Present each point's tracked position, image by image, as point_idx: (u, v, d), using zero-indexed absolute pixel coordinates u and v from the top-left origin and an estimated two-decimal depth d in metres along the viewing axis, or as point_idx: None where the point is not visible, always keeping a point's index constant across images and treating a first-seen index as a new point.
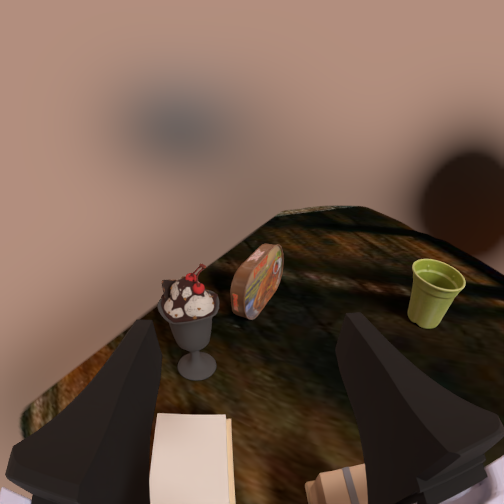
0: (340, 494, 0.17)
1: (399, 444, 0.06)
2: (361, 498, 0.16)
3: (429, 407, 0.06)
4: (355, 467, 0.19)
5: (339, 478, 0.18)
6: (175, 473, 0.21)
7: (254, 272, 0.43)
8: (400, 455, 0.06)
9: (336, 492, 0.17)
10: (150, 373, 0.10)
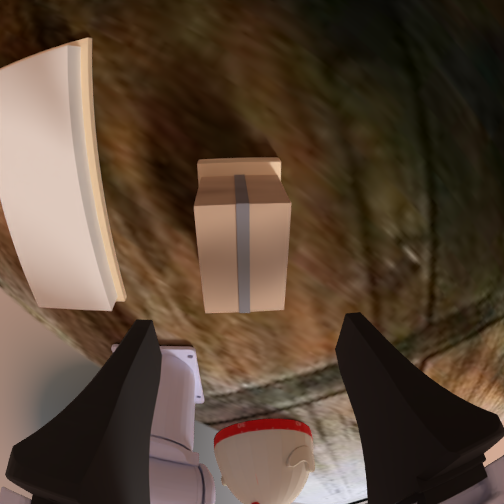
0: (223, 250, 0.15)
1: (399, 444, 0.06)
2: (255, 264, 0.15)
3: (429, 407, 0.06)
4: (261, 206, 0.14)
5: (227, 222, 0.14)
6: (18, 171, 0.14)
7: None
8: (401, 455, 0.06)
9: (217, 246, 0.15)
10: (150, 373, 0.10)
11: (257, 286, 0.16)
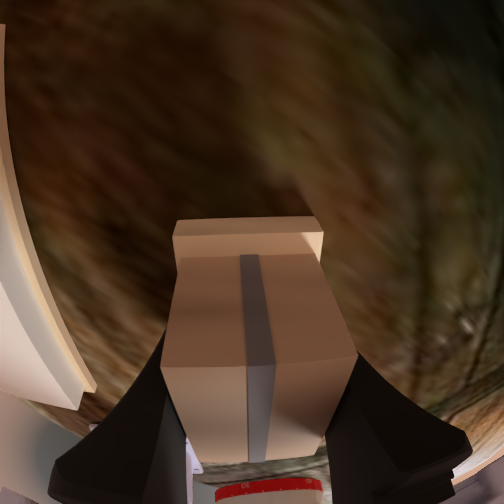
0: (223, 417, 0.07)
1: (357, 455, 0.06)
2: (279, 426, 0.08)
3: (387, 419, 0.06)
4: (300, 366, 0.06)
5: (229, 389, 0.07)
6: None
7: None
8: (358, 466, 0.06)
9: (212, 413, 0.07)
10: None
11: (279, 443, 0.09)
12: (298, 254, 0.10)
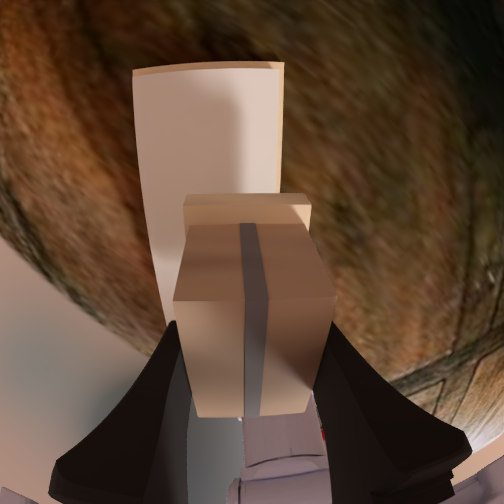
0: (223, 358, 0.09)
1: (356, 455, 0.06)
2: (271, 372, 0.10)
3: (386, 419, 0.06)
4: (288, 303, 0.08)
5: (229, 325, 0.08)
6: None
7: None
8: (357, 467, 0.06)
9: (214, 353, 0.09)
10: (187, 374, 0.10)
11: (272, 393, 0.10)
12: (289, 224, 0.12)
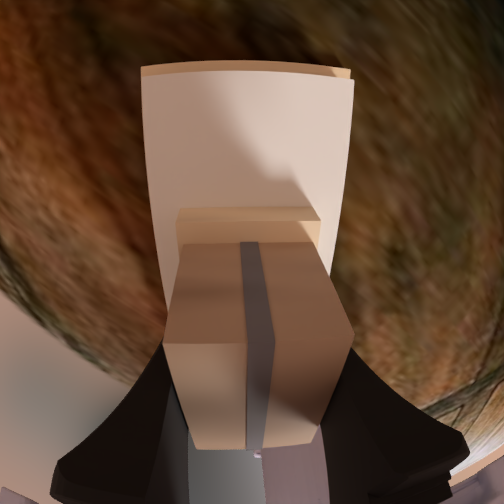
0: (222, 399, 0.08)
1: (353, 456, 0.06)
2: (277, 410, 0.08)
3: (383, 419, 0.06)
4: (298, 344, 0.07)
5: (229, 367, 0.07)
6: None
7: None
8: (354, 467, 0.06)
9: (212, 394, 0.08)
10: None
11: (276, 429, 0.09)
12: (296, 242, 0.10)
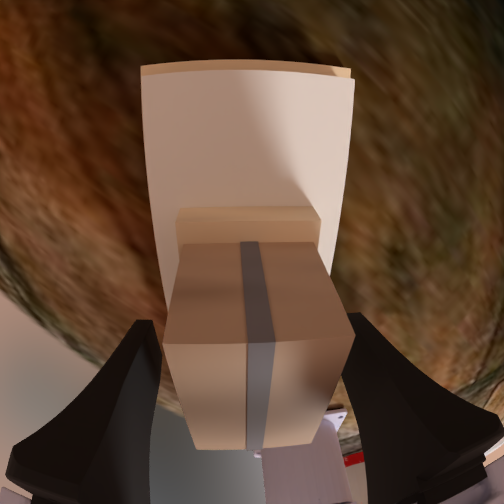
0: (222, 399, 0.08)
1: (399, 444, 0.06)
2: (277, 411, 0.08)
3: (429, 407, 0.06)
4: (298, 345, 0.07)
5: (229, 367, 0.07)
6: None
7: None
8: (401, 455, 0.06)
9: (212, 394, 0.08)
10: (150, 373, 0.10)
11: (276, 429, 0.09)
12: (297, 242, 0.10)
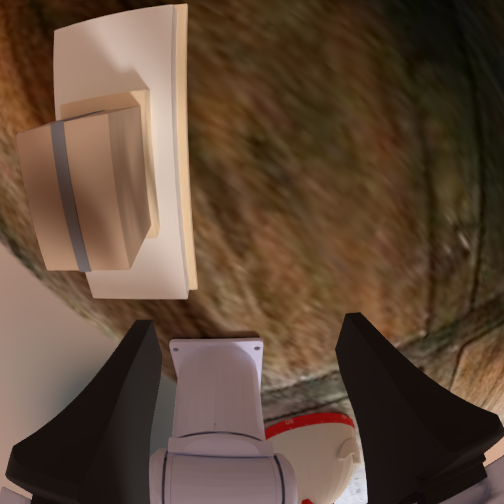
0: (46, 185, 0.10)
1: (399, 444, 0.06)
2: (81, 202, 0.10)
3: (429, 407, 0.06)
4: (75, 123, 0.09)
5: (44, 148, 0.09)
6: None
7: None
8: (400, 454, 0.06)
9: (40, 180, 0.10)
10: (150, 373, 0.10)
11: (89, 233, 0.11)
12: (129, 107, 0.13)
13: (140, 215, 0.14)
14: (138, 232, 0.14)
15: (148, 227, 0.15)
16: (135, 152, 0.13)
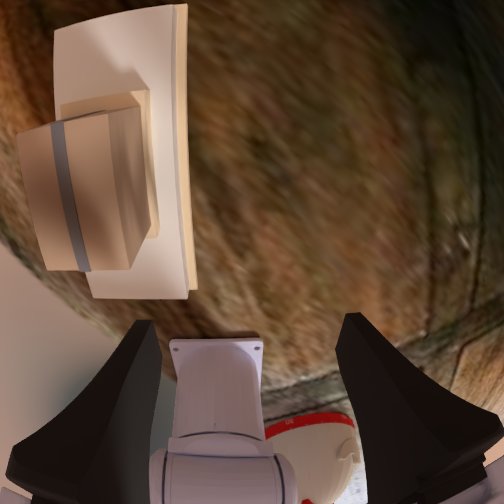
0: (46, 185, 0.10)
1: (399, 444, 0.06)
2: (81, 202, 0.10)
3: (429, 407, 0.06)
4: (75, 123, 0.09)
5: (44, 148, 0.09)
6: None
7: None
8: (400, 454, 0.06)
9: (40, 180, 0.10)
10: (150, 373, 0.10)
11: (89, 233, 0.11)
12: (129, 107, 0.13)
13: (140, 215, 0.14)
14: (138, 232, 0.14)
15: (148, 227, 0.15)
16: (135, 152, 0.13)
